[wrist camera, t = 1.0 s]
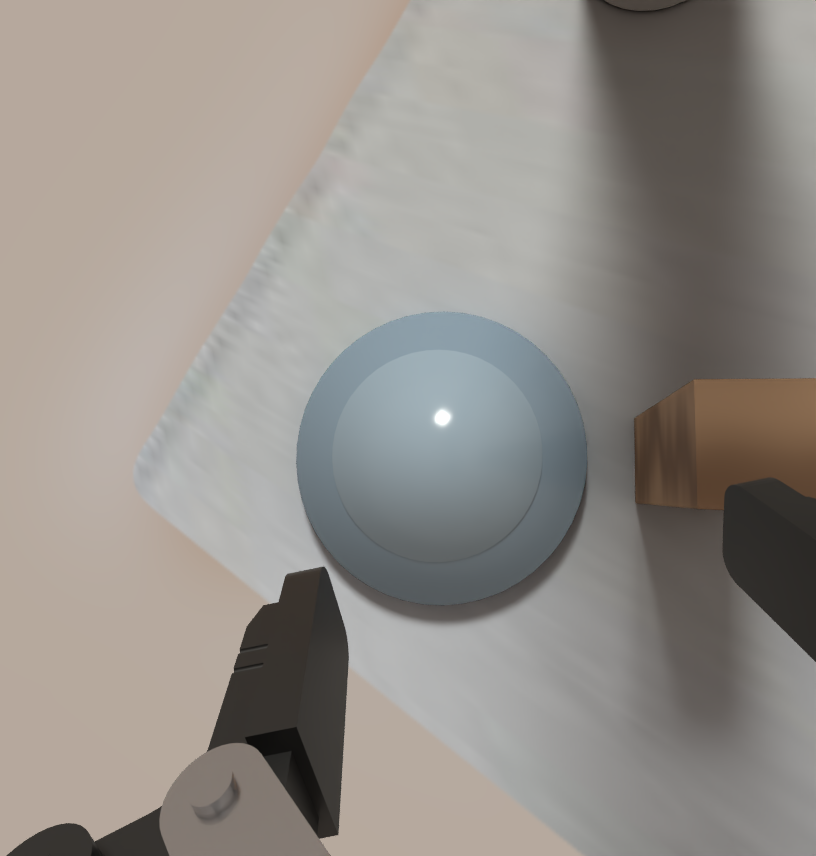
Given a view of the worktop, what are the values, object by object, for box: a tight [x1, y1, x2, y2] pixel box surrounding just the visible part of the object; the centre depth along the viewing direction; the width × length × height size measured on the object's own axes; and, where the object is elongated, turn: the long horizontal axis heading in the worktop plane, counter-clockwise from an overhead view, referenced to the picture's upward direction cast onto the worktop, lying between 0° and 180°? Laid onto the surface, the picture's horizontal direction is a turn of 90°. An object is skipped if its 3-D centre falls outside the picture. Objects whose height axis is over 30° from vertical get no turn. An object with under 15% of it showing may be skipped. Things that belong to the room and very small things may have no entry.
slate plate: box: [296, 312, 587, 605], centre depth 33 cm, size 18×18×1 cm
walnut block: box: [634, 378, 816, 510], centre depth 25 cm, size 5×5×11 cm
